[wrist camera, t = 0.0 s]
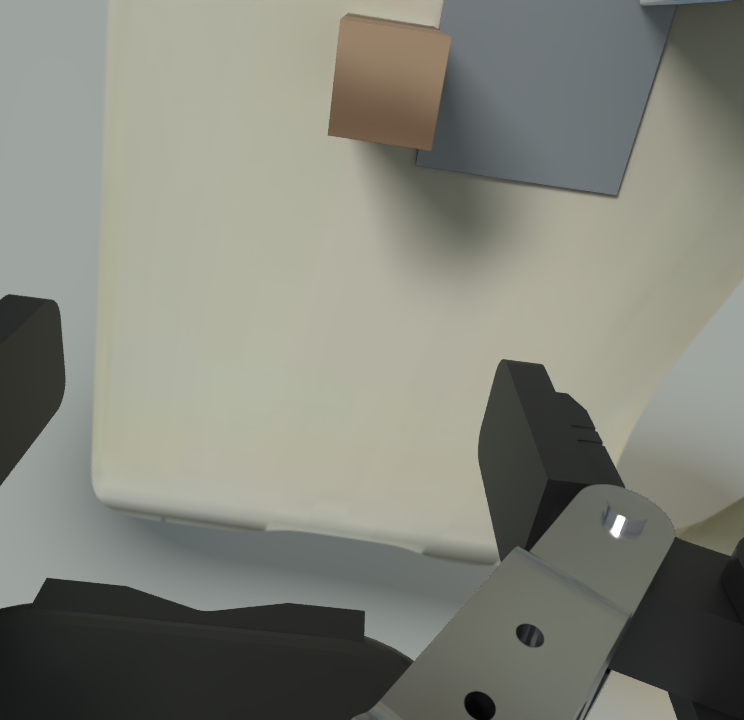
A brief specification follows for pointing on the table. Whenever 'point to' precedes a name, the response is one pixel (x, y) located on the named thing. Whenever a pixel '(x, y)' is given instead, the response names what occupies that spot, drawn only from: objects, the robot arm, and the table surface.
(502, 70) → the rubber mat
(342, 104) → the walnut block
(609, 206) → the table surface
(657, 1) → the light bulb box
